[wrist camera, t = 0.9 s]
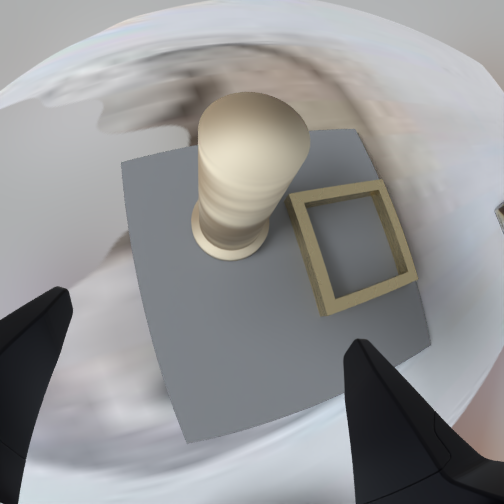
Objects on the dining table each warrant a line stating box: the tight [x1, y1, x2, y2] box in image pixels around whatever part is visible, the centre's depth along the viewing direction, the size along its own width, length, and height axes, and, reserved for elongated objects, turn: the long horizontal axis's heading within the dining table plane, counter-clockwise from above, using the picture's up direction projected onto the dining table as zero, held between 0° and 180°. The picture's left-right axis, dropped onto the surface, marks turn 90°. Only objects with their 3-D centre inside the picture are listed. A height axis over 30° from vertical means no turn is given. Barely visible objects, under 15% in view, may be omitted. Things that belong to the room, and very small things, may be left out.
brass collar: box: [284, 179, 418, 317], centre depth 23 cm, size 10×10×2 cm
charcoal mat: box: [121, 129, 431, 444], centre depth 23 cm, size 24×24×1 cm
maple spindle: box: [191, 92, 310, 261], centre depth 17 cm, size 6×6×12 cm
